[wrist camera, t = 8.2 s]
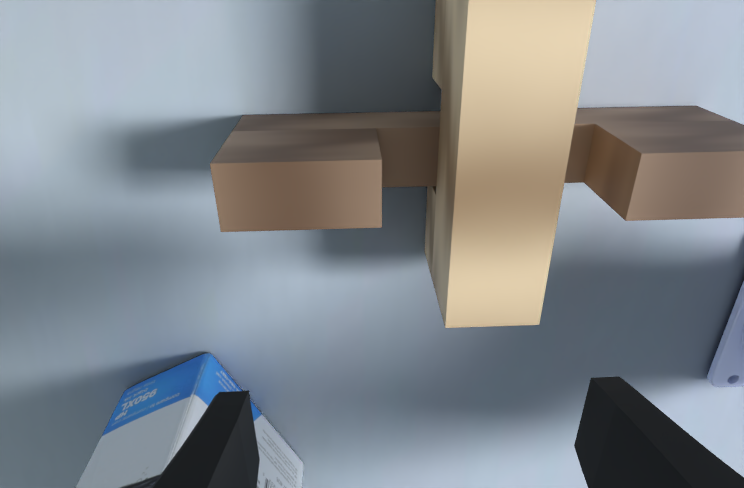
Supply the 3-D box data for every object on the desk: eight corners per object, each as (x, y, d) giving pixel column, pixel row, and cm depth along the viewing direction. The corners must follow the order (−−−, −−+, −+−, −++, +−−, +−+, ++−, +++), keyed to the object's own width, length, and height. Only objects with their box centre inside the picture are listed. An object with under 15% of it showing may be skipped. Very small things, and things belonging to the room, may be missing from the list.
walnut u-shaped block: (696, 105, 19) (804, 149, 14) (681, 159, 20) (778, 216, 15) (242, 115, 18) (209, 163, 14) (250, 169, 19) (220, 232, 15)
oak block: (436, -31, 16) (470, -30, 12) (532, -33, 16) (601, -31, 12) (424, 251, 21) (445, 327, 17) (498, 249, 21) (539, 324, 17)
